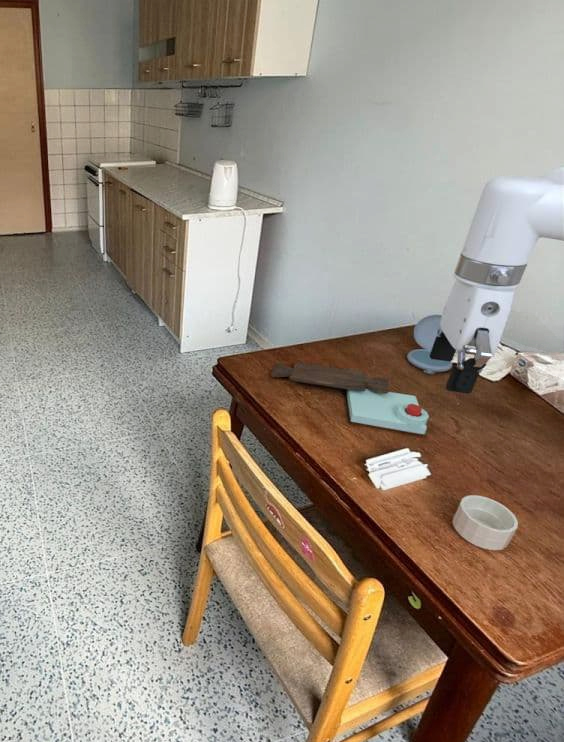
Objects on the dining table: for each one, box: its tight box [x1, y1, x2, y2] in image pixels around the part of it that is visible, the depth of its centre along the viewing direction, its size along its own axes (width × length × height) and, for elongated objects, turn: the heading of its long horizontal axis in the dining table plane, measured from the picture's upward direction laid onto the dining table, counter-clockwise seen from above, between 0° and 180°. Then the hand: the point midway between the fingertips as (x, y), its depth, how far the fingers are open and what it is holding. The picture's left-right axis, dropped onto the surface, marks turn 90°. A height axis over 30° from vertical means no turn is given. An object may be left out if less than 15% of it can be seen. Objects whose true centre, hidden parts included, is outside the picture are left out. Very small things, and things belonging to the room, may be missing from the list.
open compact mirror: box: [406, 314, 453, 375], centre depth 120 cm, size 10×11×15 cm
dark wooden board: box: [270, 361, 390, 394], centre depth 114 cm, size 26×2×10 cm
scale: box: [346, 387, 430, 435], centre depth 104 cm, size 14×12×4 cm
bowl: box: [451, 494, 519, 551], centre depth 75 cm, size 7×7×5 cm
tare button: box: [406, 404, 423, 417], centre depth 99 cm, size 3×3×2 cm
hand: (448, 374), depth 74 cm, fingers open, 9 cm apart
